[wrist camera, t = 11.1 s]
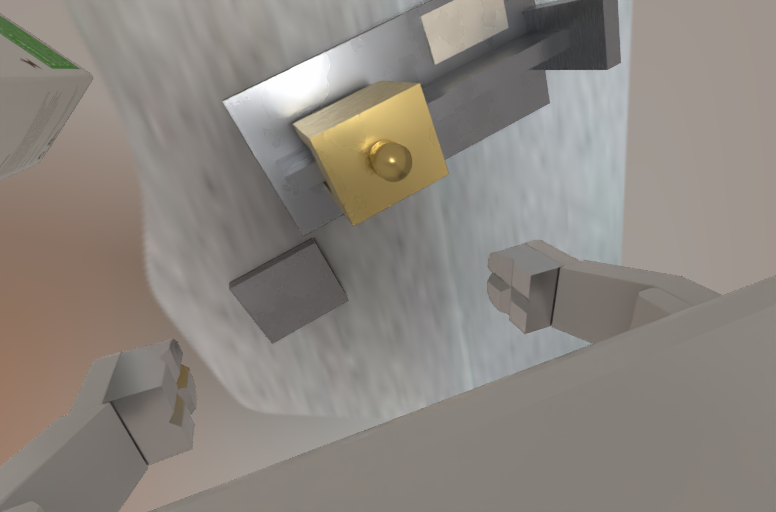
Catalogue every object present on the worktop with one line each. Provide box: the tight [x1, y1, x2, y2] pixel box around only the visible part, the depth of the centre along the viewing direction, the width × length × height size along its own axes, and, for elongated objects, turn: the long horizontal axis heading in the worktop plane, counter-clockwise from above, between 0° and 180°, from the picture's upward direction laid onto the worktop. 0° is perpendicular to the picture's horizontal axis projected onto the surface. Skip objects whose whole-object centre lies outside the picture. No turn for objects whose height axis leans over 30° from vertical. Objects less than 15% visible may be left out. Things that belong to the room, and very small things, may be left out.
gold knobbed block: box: [293, 80, 449, 226], centre depth 22 cm, size 5×6×7 cm
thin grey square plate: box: [229, 238, 348, 344], centre depth 31 cm, size 6×7×1 cm
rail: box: [223, 0, 621, 236], centre depth 25 cm, size 10×22×8 cm, turn 112°
